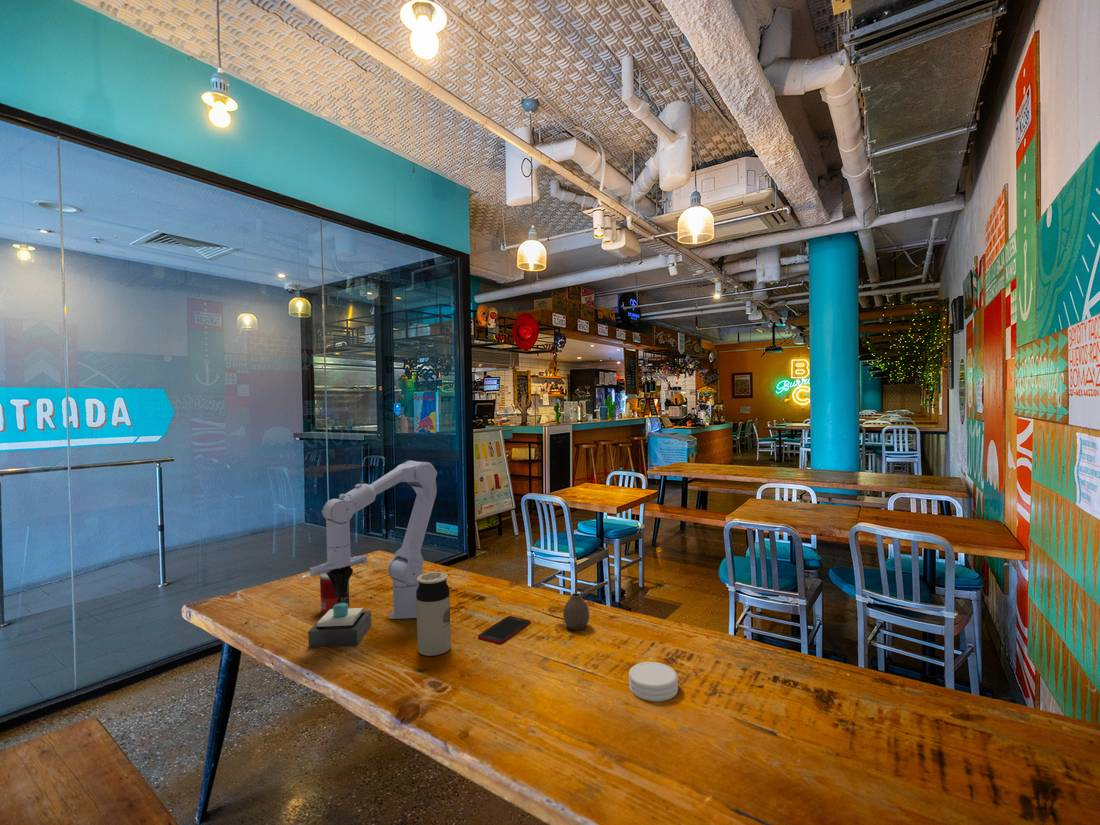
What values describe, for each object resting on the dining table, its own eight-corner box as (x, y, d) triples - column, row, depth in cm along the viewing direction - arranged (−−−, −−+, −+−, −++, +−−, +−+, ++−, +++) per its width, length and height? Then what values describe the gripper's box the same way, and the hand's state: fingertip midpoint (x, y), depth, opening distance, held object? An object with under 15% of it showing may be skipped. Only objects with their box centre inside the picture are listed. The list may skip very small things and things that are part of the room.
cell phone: (476, 639, 133) (476, 636, 133) (508, 618, 146) (508, 615, 146) (501, 646, 129) (501, 642, 129) (532, 624, 142) (532, 620, 142)
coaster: (641, 706, 102) (641, 689, 102) (621, 681, 112) (621, 664, 112) (687, 697, 105) (686, 680, 105) (663, 673, 114) (663, 657, 114)
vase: (589, 622, 142) (589, 590, 142) (589, 633, 135) (588, 599, 135) (564, 621, 142) (563, 589, 142) (562, 632, 136) (561, 599, 135)
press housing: (371, 625, 143) (370, 610, 143) (357, 645, 131) (356, 629, 131) (326, 627, 142) (326, 612, 142) (308, 647, 130) (308, 631, 130)
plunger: (363, 611, 141) (362, 598, 141) (352, 625, 132) (351, 611, 132) (330, 612, 141) (329, 600, 141) (317, 626, 132) (316, 612, 132)
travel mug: (410, 652, 126) (408, 579, 126) (432, 639, 133) (430, 569, 133) (436, 659, 123) (434, 583, 122) (457, 645, 130) (455, 573, 129)
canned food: (343, 615, 150) (342, 577, 150) (316, 615, 151) (314, 577, 150) (353, 604, 158) (352, 568, 158) (327, 605, 158) (326, 569, 158)
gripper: (357, 537, 144) (358, 585, 145) (304, 548, 134) (305, 601, 134) (370, 541, 140) (371, 591, 140) (315, 553, 129) (317, 607, 129)
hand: (340, 596), depth 137 cm, fingers closed
